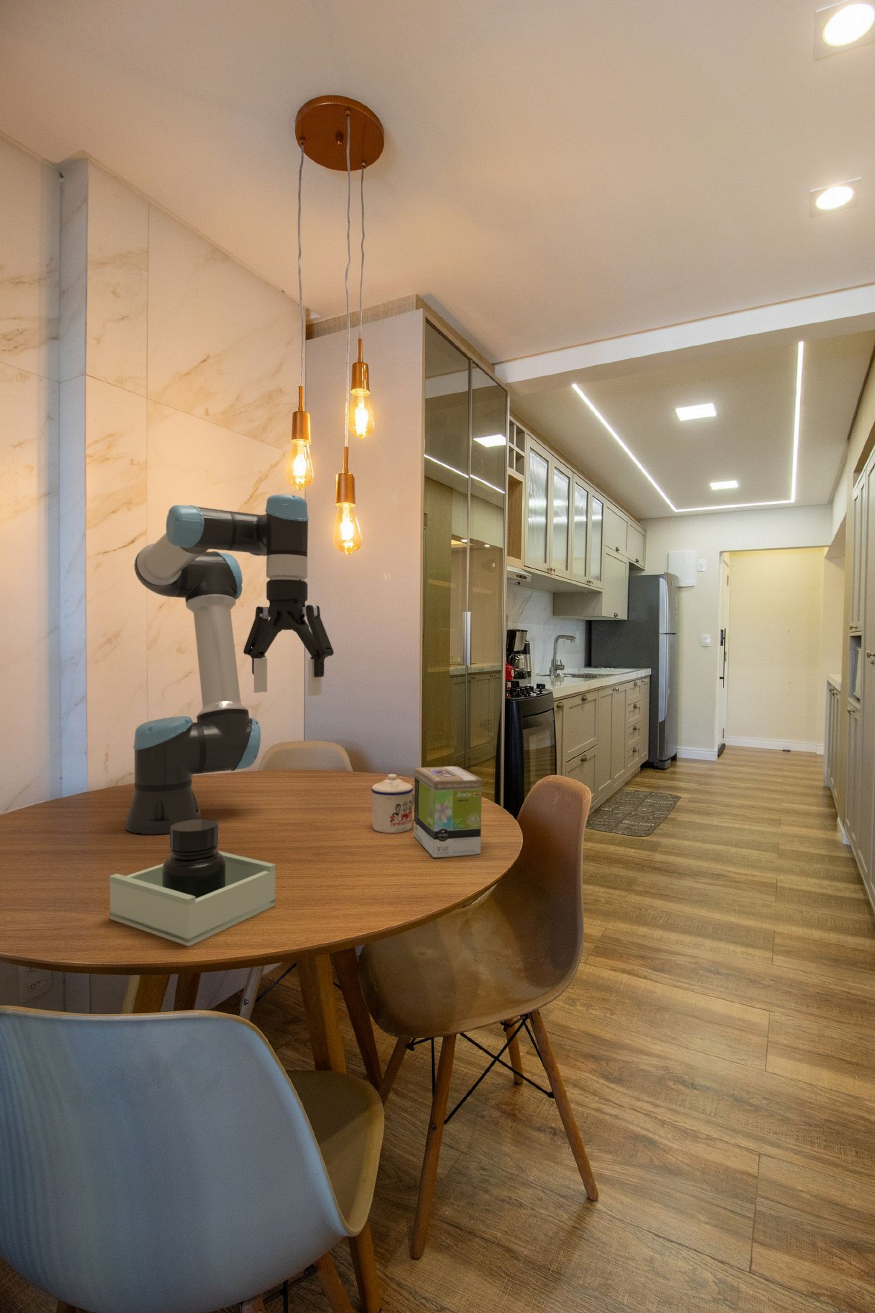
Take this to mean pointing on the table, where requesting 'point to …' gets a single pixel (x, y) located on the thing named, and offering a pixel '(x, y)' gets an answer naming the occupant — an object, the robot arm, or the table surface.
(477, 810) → the tea box
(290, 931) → the table surface
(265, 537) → the robot arm
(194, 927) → the tray
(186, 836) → the ink bottle
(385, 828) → the teacup with lid
